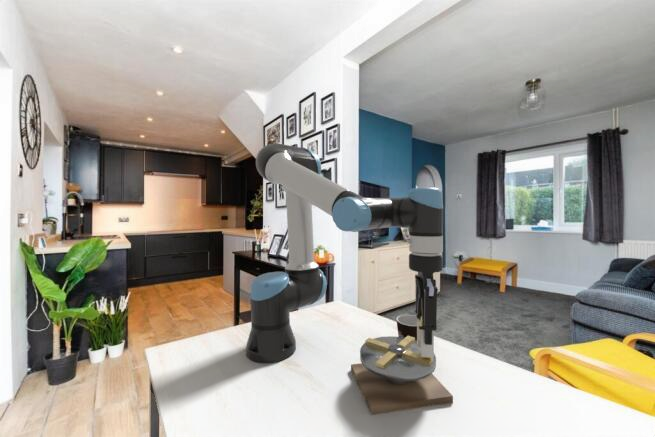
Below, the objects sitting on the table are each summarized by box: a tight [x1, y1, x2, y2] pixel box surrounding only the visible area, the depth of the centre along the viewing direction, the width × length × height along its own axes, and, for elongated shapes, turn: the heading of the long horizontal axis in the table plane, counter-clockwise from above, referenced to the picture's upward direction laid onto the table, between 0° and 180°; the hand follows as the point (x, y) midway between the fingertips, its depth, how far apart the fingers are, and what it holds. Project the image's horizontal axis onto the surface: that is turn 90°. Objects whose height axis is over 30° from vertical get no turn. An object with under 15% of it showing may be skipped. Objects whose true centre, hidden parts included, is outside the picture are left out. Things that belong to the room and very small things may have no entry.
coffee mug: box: [395, 314, 419, 341], centre depth 87 cm, size 12×9×10 cm
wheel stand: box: [350, 362, 454, 415], centre depth 71 cm, size 17×19×6 cm
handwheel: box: [359, 316, 437, 381], centre depth 70 cm, size 18×18×12 cm
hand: (424, 351), depth 68 cm, fingers open, 4 cm apart
